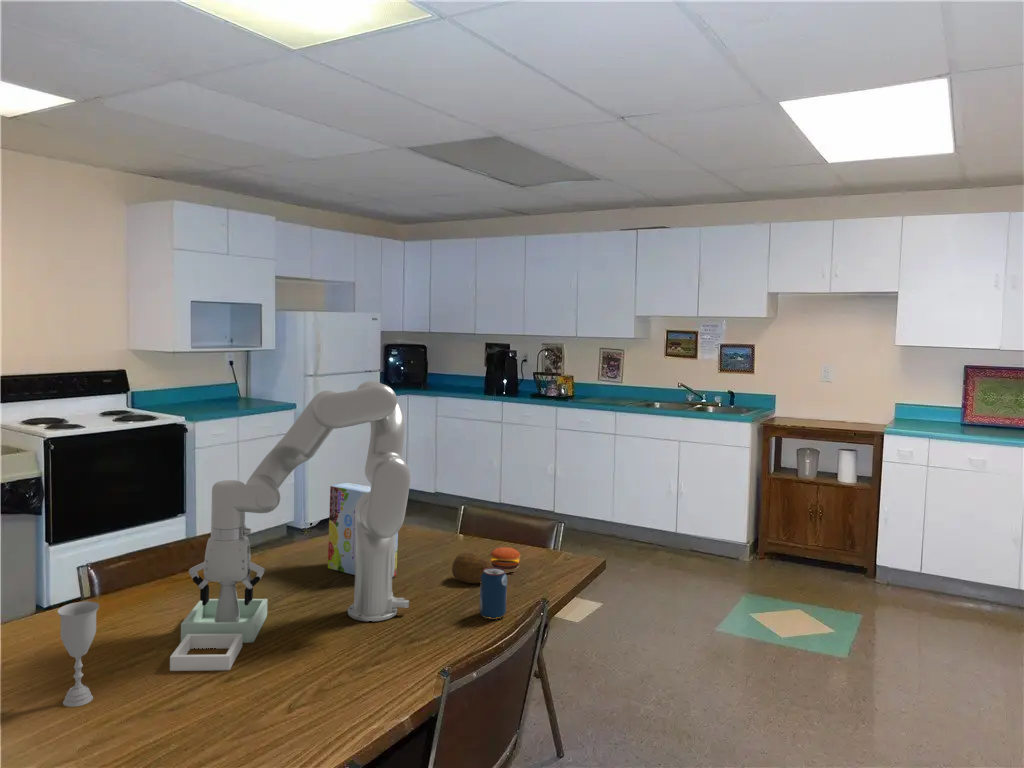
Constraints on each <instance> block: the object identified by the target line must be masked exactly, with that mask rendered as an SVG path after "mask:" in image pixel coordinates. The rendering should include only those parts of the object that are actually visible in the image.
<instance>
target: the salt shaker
mask: <svg viewBox="0 0 1024 768" xmlns="http://www.w3.org/2000/svg"><path fill="white" fill-rule="evenodd" d="M237 583H238V581H218V584H219V585H221V586H220V590H219V595H218V598H217V599H218V604H217V609H216V614H215V618H214V619H215V622H238V621H239V619H240V610H239V604H238V599H239V598H238V593H237V586H236V584H237Z"/></svg>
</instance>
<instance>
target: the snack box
mask: <svg viewBox="0 0 1024 768" xmlns="http://www.w3.org/2000/svg"><path fill="white" fill-rule="evenodd" d="M329 488H330V489H329V492H330V493H329V494H330V495H329V517H328V519H329V520H328V548H327V549H328V551H327V553H328V554H327V555H328V556H327V569H329V570H334V571H338V572H341V573H345V574H350V575H354V576H355V560H356V525H355V509H356V505H357V502H358V500H359V499H360V498H361V497H362V496H363V495H364V494H365V493H367V492H370V491H371V486H369V485H364V484H363V485H362V484H357V483H351V482H345V483H338V484H331V485H330V487H329ZM393 540H394V547H393V572H392V578H394V577H396V576H397V572H398V571H397V570H398V568H397V567H398V565H397V564H398V543H399V542H398V541H399V531H398V532H397V533H396V534H395V535H393Z"/></svg>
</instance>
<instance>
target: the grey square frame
mask: <svg viewBox="0 0 1024 768" xmlns="http://www.w3.org/2000/svg"><path fill="white" fill-rule="evenodd" d="M243 645H244V643H243V634H187V635H186V637H185V638H184V639H183V641H182V642H181V641H180V643H179V645H178V646H177V647H176V648H175V650H174V651H173V652H172V653H171V655H170V657H169V671H170V672H182V671H185V672H187V671H189V672H191V671H193V672H194V671H195V672H196V671H197V672H199V671H200V672H201V671H230V670H231V668H232V667H233V664H234V663H235V661H236V659H237V657H238V655H240V654H239V653H240V652H241V649H242V648H243ZM194 648H195V649H196V650H197V649H198V648H199V649H201V650H203V649H205V650H206V648H207V649H208V648H209V649H210V648H213V649H214V648H216V649H228V650H227V651H226V653H225V654H188V653H189V652H190V651H191V650H192V649H193V650H194ZM202 648H203V649H202ZM188 651H189V652H188Z"/></svg>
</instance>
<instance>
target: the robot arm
mask: <svg viewBox="0 0 1024 768" xmlns="http://www.w3.org/2000/svg"><path fill="white" fill-rule="evenodd" d="M404 418H405V417H404V415H403V411H402V409H401V406H400V405H399V403H398V397H397V394H396V392H395V391H394V390H393V389H392V388H391V387H390V386H389V385H386V384H383V383H381V382H378V381H374V380H368V381H364V382H362V383H360V385H359V386H357V388H356V389H353V390H349V391H343V392H335V391H333V390H322V391H320V392H318V393H317V394H316V395H315V396H314V397H312V398H311V400H310V401H309V403H308V404H307V406H306V407H305V408H304V409H303V410H302V412H301V413H300V414H299V416H298V418H297V419H296V420H295V422H294V423H293V424H292V425H291V427H290V428H289V429H288V431H286V433H285V434H284V436H283V437H282V438H281V439H280V440H279V441H278V442H277V443H276V445H275V446H274V447H273V448H272V449H271V450H270V451H269V452H268V453H267V454H266V456H265V457H264V458H263V459H262V461H261V462H260V463H259V465H257V467H256V469H255V470H254V471H253V473H252V474H251V475H250V477H249V478H248V479H247V481H246V483H244V482H242V481H239V480H236V479H235V480H234V479H232V480H231V479H226V480H220V481H217V482H215V483H213V485H212V487H211V516H210V517H211V518H210V519H211V520H210V537H208V539H207V541H206V542H207V543H206V547H205V553H204V561H203V562H201V563H199V564H196V565H194V566H193V567H190V568H189V570H188V574H189V575H190V577H191V579H192V581H193V582H194V583H195V585H197V586H198V589H199V590H200V593H199V595H200V596H199V601H202V606H205V605H206V604H207V603H208V601H209V599H210V585H209V584H208V583H209V582H219V581H237V582H241V583H243V584H244V586H245V589H244V599H245V605H248V604H249V603H250V601H252V599H254V587H255V585H257V583H259V582H260V581H261V578H262V577H263V575H264V573H265V572H266V569H265V568H264V567H262V566H261V565H259V564H256V563H255V562H254V561H253V562H252V557H251V546H250V545H251V544H250V540H249V539H250V538H249V537H248V536H247V535H251V533H252V528H248V527H247V526H246V513H250V514H251V513H252V514H267V513H271V512H272V511H274V510H275V509H277V507H278V506H279V505H280V502H281V493H280V490H279V489H280V487H281V486H282V484H283V483H284V481H286V479H287V478H288V476H289V475H290V474H291V473H292V472H293V471H294V470H295V469H297V467H299V466H300V465H301V464H303V463H306V462H307V461H309V460H310V459H312V458H313V457H314V456H315V455H316V453H317V452H318V450H319V449H320V447H321V446H322V445H323V444H324V442H325V441H326V440H327V438H328V437H329V435H330V434H331V433H332V432H333V430H335V429H336V430H337V429H342V428H343V429H344V428H348V427H354V426H357V425H362V424H366V423H370V437H369V445H368V451H367V455H366V462H365V466H364V475H365V478H366V480H367V481H368V483H370V487H371V491H370V492H367V493H365V494H364V495H363V496H362V497H361V498H360V499H359V500H358V502H357V505H356V509H355V525H356V560H355V575H354V590H353V591H354V593H353V594H354V596H353V597H354V598H353V603H352V604H350V606H348V607H347V615H348V616H349V617H350V618H351V619H353V620H356V621H360V622H369V621H372V622H382V621H386V620H389V619H391V618H393V617H395V616H396V615H397V614H398V608H403V609H404V608H406V609H407V608H409V607H410V606H409V605H410V599H405V597H396V596H394V592H393V577H392V572H393V547H394V540H393V535H395V534H396V533H397V532H398V533H399V531H400V530H401V528H402V526H403V524H404V521H405V517H406V511H407V510H406V509H407V505H408V500H409V498H408V497H409V491H410V488H411V487H410V485H411V473H410V468H409V466H408V464H407V463H406V462H405V460H404V459H403V457H402V456H403V447H404V437H405V420H404ZM201 570H203V578H202V577H201V576H200V575H199V573H198V572H199V571H201ZM251 571H253V572H255V573H256V576H255V577H254V578H252V577H251V575H250V574H251V573H252V572H251Z"/></svg>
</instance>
